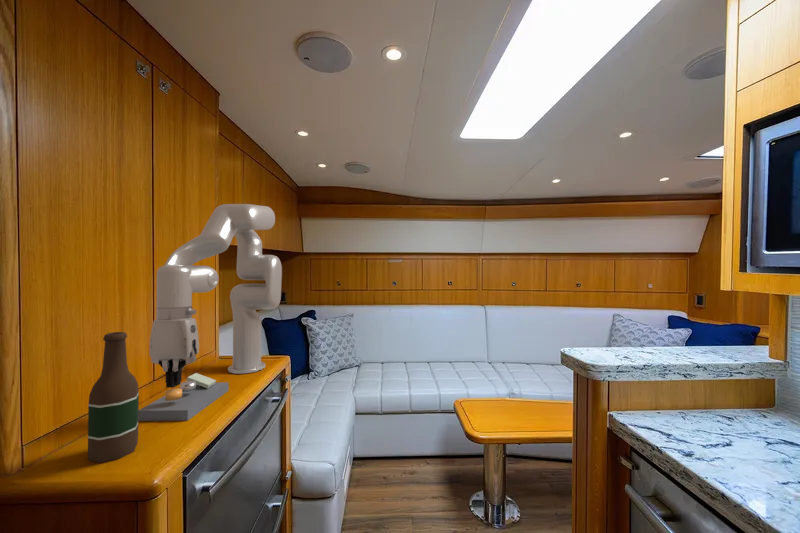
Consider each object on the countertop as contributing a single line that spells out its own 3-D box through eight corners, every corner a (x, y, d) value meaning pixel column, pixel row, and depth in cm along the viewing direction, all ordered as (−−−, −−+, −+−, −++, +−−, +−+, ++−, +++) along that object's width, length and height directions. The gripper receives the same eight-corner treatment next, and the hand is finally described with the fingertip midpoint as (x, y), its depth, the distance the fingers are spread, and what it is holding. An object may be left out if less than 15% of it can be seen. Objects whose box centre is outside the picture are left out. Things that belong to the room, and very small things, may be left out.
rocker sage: (194, 375, 98) (196, 372, 98) (215, 383, 98) (216, 380, 98) (186, 380, 94) (187, 377, 94) (207, 388, 94) (208, 385, 94)
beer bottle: (92, 469, 61) (94, 338, 61) (83, 454, 65) (84, 333, 66) (144, 450, 67) (145, 332, 67) (132, 438, 72) (133, 328, 72)
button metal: (185, 387, 92) (185, 380, 92) (198, 387, 92) (198, 380, 92) (177, 391, 88) (177, 385, 88) (190, 391, 88) (190, 385, 88)
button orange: (171, 395, 86) (171, 388, 86) (185, 395, 86) (185, 388, 86) (161, 400, 82) (161, 393, 82) (176, 400, 82) (176, 393, 82)
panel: (188, 390, 100) (188, 379, 100) (228, 390, 100) (228, 379, 100) (137, 421, 80) (137, 406, 80) (187, 420, 80) (187, 406, 80)
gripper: (211, 312, 88) (211, 380, 88) (155, 312, 88) (154, 381, 88) (195, 315, 81) (194, 391, 80) (133, 315, 80) (132, 391, 80)
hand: (173, 385), depth 84 cm, fingers closed
